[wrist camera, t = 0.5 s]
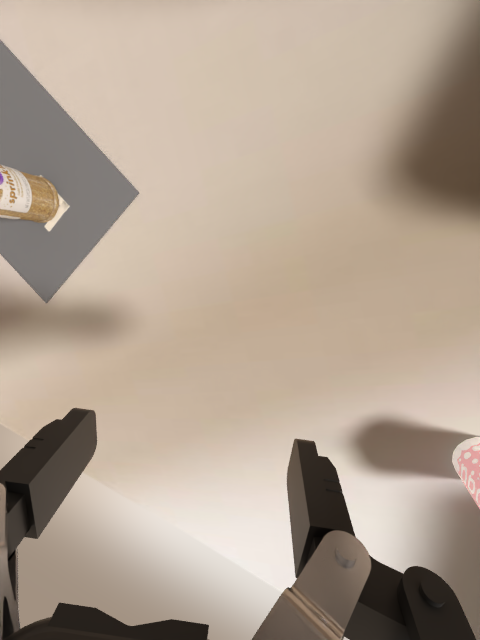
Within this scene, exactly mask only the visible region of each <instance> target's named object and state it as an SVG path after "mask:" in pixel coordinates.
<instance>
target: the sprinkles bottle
mask: <svg viewBox="0 0 480 640" xmlns="http://www.w3.org/2000/svg"><path fill="white" fill-rule="evenodd" d="M58 207H59V198H58V193H57V191H56V189H55V187H54V185H53V184H52V183H51V182H50V181H49V180H47V179H46V178H44V177H42V176H37V175H31V174H27V173H24V172H20V171H18V170H16V169H14V168H10V167H7V166H4V165H0V218H8V219H23V220H31V221H34V222H37V223H45V222H48V221H50V220H52V219H53V218H54V217H55V215H56V213H57V210H58Z"/></svg>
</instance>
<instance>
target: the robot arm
mask: <svg viewBox="0 0 480 640" xmlns="http://www.w3.org/2000/svg"><path fill="white" fill-rule="evenodd" d="M96 445H97V432H96V415H95V412H94V411H93V410H87V409H79V408H73V409H72V410H71V411H70V412H69V413H68V414H67V415H66V416H65V417H64V418H63V419H62V420H59V419H56V420H55V421H53V422H51V423H49V424H48V425H46V426H44V427H43V428H42V429H41V430H40V431H39V432H38V433H37V434H36V435H35V436H34V437H33V439H32V440H30V441H29V442H28V443H27V444H26V445H25V446H24V448H22V449H21V450H20V451H19V452H18V453H17V454H16V455H15V456H14V457H13V458H12V459H11V460H10V461H9V462H8V463H7V464H6V465H5V466H4V467H3V468H2V469H1V470H0V640H208V639H207V635H208V627H209V625H206V624H199V623H192V622H186V621H179V620H172V619H171V620H166V621H161V622H154V623H149V624H143V625H137V626H128V625H125V624H124V623H122V622H120V621H118V620H116V619H115V618H113V617H111V616H109V615H107V614H106V613H104V612H102V611H100V610H98V609H97V608H92V607H85V606H79V605H71V604H65V603H59V604H58V606H57V608H56V610H55V612H54V614H53V616H52V617H50V618H46V619H43V620H39V621H37V622H34V623H32V624H30V625H28V626H25V627H23V628H22V629H20V623H19V611H18V552H17V546H18V545H19V544H20V542H21V541H22V539H23V538H24V537H29V538H35V539H38V537H39V536H40V534H41V533H42V531H43V530H44V528H45V527H46V525H47V524H48V522H49V521H50V519H51V518H52V517H53V515H54V514H55V512H56V511H57V509H58V508H59V506H60V504H61V503H62V502H63V500H64V499H65V497H66V496H67V494H68V493H69V491H70V490H71V488H72V487H73V485H74V484H75V482H76V481H77V479H78V478H79V476H80V475H81V473H82V472H83V470H84V469H85V467H86V466H87V464H88V463H89V461H90V460H91V458H92V457H93V455H94V452H95V449H96ZM287 490H288V501H289V511H290V522H291V533H292V543H293V554H294V564H295V575H296V578H297V580H296V581H295V583H294V584H293V586H292V587H291V588H289V587H288V588H286V589H285V590H284V592H283V593H282V594H281V596H280V597H279V599H278V600H277V602H276V603H275V605H274V606H273V608H272V609H271V611H270V613H269V614H268V616H267V617H266V619H265V620H264V621H263V623H262V625H261V626H260V628H259V629H258V631H257V632H256V634H255V635H254V637H253V638H252V640H343V638H344V637H346V638H348V639H350V640H476V638H475V636H474V634H473V632H472V629H471V627H470V625H469V623H468V621H467V618H466V616H465V614H464V612H463V609H462V607H461V605H460V603H459V601H458V599H457V597H456V595H455V593H454V592H453V590H452V589H451V588H450V587H449V585H448V584H447V583H446V582H445V581H444V580H443V579H442V578H441V577H439V576H438V575H437V574H435V573H434V572H432V571H430V570H428V569H426V568H423V567H418V566H413V567H410V568H408V569H407V570H406V571H405V572H404V574H403V573H401V572H399V571H396V570H394V569H392V568H390V567H388V566H386V565H384V564H382V563H380V562H378V561H376V560H375V559H373V558H372V557H371V556H370V555H369V554H368V551H367V550H366V548H365V547H364V545H363V544H362V543H361V542H360V541H359V540H358V539H357V538H356V537H355V534H354V531H353V527H352V524H351V520H350V517H349V513H348V510H347V506H346V503H345V499H344V496H343V494H342V489H341V485H340V483H339V478H338V475H337V471H336V468H335V467H334V466H333V464H332V463H331V462H330V460H329V459H328V457H322V456H318V453H317V449H316V445H315V442H314V441H308V440H301V439H295V440H294V443H293V448H292V452H291V457H290V462H289V466H288V472H287Z"/></svg>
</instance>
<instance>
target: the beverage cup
mask: <svg viewBox="0 0 480 640" xmlns="http://www.w3.org/2000/svg"><path fill="white" fill-rule="evenodd" d="M452 463H453V465H454V468H455V470H456V472H457V473H458V475H459V476H460V478H461V480H462V481H463V483H464V485H465V486H466V488H467V489H468V491H469V493H470V494H471V496H472V498H473V499H474V501H475V502H476V504H477V506H478V507H479V509H480V437H474V438H470V439H466V440H465V441H463V442H462V443H460V444H459V445H458V446H457V447H456V449H455V450H454V452H453V456H452Z"/></svg>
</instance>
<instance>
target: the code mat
mask: <svg viewBox="0 0 480 640" xmlns="http://www.w3.org/2000/svg"><path fill="white" fill-rule="evenodd" d="M0 165H4V166H7V167H10V168H14V169H16V170H18V171H20V172H24V173H27V174H31V175H37V176H42V177H44V178H46V179H47V180H49V181H50V182H51V183H52V184H53V185H54V187H55V189H56V191H57V193H58V198H59V207H58V210H57V213H56V215H55V217H54V218H53V219H52V220H50V221H48V222H45V223H37V222H34V221H31V220H23V219H8V218H0V254H1V255H2V256H3V257H4V258H5V259H6V260H7V262H8V263H9V264H10V265H11V266H12V267H13V268H14V269H15V270H16V271H17V272H18V273H19V274H20V276H21V277H22V278H23V279H24V280H25V281H26V282H27V283H28V284H29V285H30V286H31V287H32V288H33V290H34V291H35V292H36V293H37V294H38V295H39V296H40V297H41V298H42V299H43V300H44V301H45V302H46V303H47V302H48V301H49V300H50V299H51V298H52V296H53V295H54V294H55V293H56V292H57V290H58V289H59V288H60V287H61V286H62V284H63V283H64V282H65V281H66V280H67V279H68V277H69V276H70V275H71V274H72V273H73V271H74V270H75V269H76V268H77V267H78V265H79V264H80V263H81V262H82V261H83V259H84V258H85V257H86V256H87V255H88V253H89V252H90V251H91V250H92V249H93V248H94V246H95V245H96V244H97V243H98V242H99V240H100V239H101V238H102V237H103V236H104V234H105V233H106V232H107V231H108V230H109V228H110V227H111V226H112V225H113V224H114V223H115V221H116V220H117V219H118V218H119V217H120V215H121V214H122V213H123V212H124V211H125V209H126V208H127V207H128V206H129V205H130V203H131V202H132V201H133V200H134V199H135V198H136V196H137V195H138V194H139V192H138V191H137V190H136V189H135V188H134V187H133V186H132V184H131V183H130V182H129V181H128V180H127V179H126V178H125V177H124V176H123V175H122V173H121V172H120V171H119V170H118V169H117V168H116V167H115V166H114V165H113V164H112V162H111V161H110V160H109V159H108V158H107V157H106V156H105V155H104V154H103V153H102V151H101V150H100V149H99V148H98V147H97V146H96V145H95V144H94V143H93V142H92V140H91V139H90V138H89V137H88V136H87V135H86V134H85V133H84V132H83V130H82V129H81V128H80V127H79V126H78V125H77V124H76V123H75V122H74V121H73V119H72V118H71V117H70V116H69V115H68V114H67V113H66V112H65V111H64V110H63V108H62V107H61V106H60V105H59V104H58V103H57V102H56V101H55V100H54V99H53V97H52V96H51V95H50V94H49V93H48V92H47V91H46V90H45V89H44V87H43V86H42V85H41V84H40V83H39V82H38V81H37V80H36V79H35V78H34V76H33V75H32V74H31V73H30V72H29V71H28V70H27V69H26V68H25V67H24V65H23V64H22V63H21V62H20V61H19V60H18V59H17V58H16V57H15V56H14V54H13V53H12V52H11V51H10V50H9V49H8V48H7V47H6V46H5V45H4V43H3V42H2V41H1V40H0Z"/></svg>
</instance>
